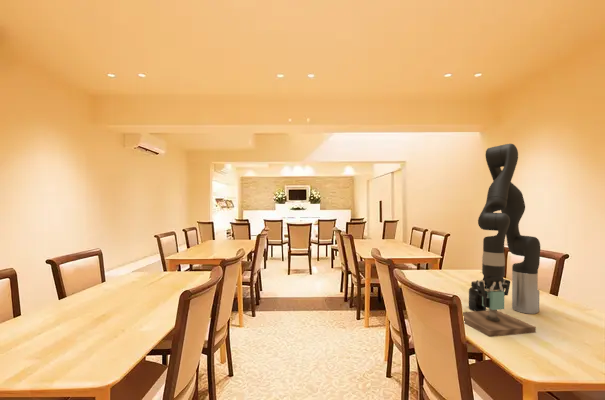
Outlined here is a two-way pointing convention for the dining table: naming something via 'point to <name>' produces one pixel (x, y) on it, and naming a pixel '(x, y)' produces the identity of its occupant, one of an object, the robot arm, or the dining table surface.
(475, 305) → the supplement bottle
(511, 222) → the robot arm
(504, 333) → the brown wooden board
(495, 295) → the green cube with circle
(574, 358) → the dining table surface
